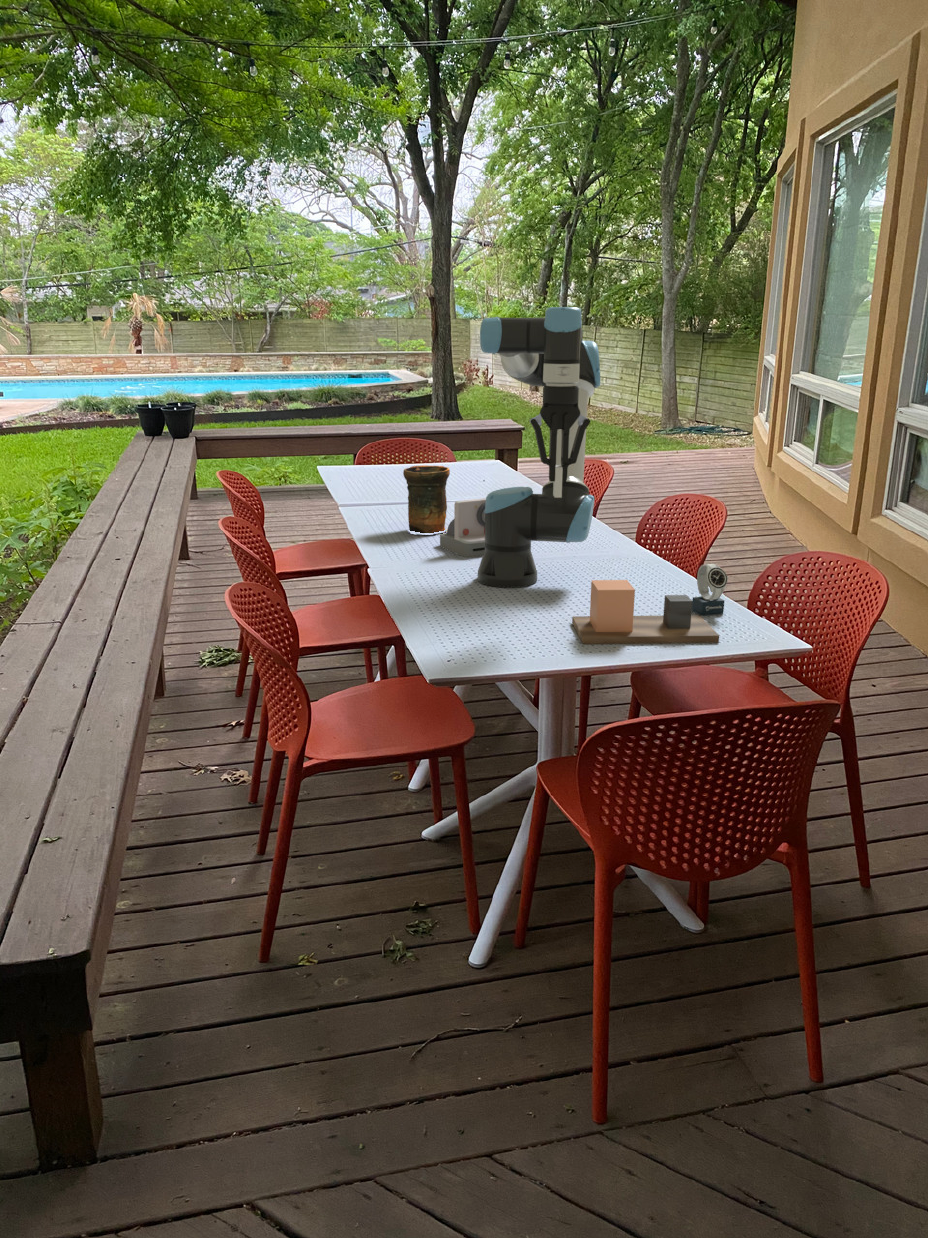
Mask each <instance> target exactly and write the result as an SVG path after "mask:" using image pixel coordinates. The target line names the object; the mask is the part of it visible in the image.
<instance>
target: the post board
mask: <svg viewBox="0 0 928 1238" xmlns="http://www.w3.org/2000/svg"><path fill="white" fill-rule="evenodd" d="M692 600H693V599H691V598H690V597H689V596H688V595H687V594H664V603H663V604H664V605H663V615H633V632H596V631H595V629H594V628H593V626H592V624H591V622H590V615H589V616H588V615H587V616H585V615H582V616H581V615H580V616H571V617H572V618H571V623H573V624H572V625H574V626H573V627H574V629H575V631H576V634H577V635H578V637H579V639H580V642H581V643H582V645H614V644H615V645H618V644H619V645H620V644H622V645H623V644H624V645H625V644H626V645H627V644H628V645H630V644H684V643H685V644H696V643H697V644H698V643H699V644H700V643H701V644H704V643H708V644H709V643H710V644H712V643H713V644H715V643H720V634H719V633H718V632H717V631H715V629H714V628H713V627H712V626H711V625H710V624H709V623H708V621H706V620H705V619H704V618H703V617H702V616H701V615H699V614H692V612H693V611H692Z"/></svg>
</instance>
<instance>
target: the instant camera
mask: <svg viewBox="0 0 928 1238" xmlns="http://www.w3.org/2000/svg"><path fill="white" fill-rule="evenodd" d="M485 504H486V497H483V498H476V499H475V498H474V499H464V500H463V499H462V500H457V501H455V502H454V506H453V507H454V514H453V515H454V518H453V519H452V520H451V521H450V522H449V524H448V527H447V529H446V530H447V531H446V532H447V533H443V534H439V546H442V547H444V548H446V549H445V550H447V549H448V550H447V551H449V550H450V551H449V552H452V553H455V554H456V553H457V554H456V555H459V556H461V557H463V556H464V558H476V557H477V558H478V557H483V554H484V551H485V513H484V511H485ZM442 547H441V548H442ZM444 548H443V549H444Z"/></svg>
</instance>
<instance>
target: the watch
mask: <svg viewBox="0 0 928 1238" xmlns="http://www.w3.org/2000/svg"><path fill="white" fill-rule="evenodd" d="M728 580H729V577H728V575H727V573H726V571H725V570H724V569H723V568H721V567H720V566H719V565H717V564H715V563H706V564H701V566H699V568H698V570H697V577H696V582H697V583H696V585H697V590H698V592H699V594H700V595H701V596H693V597H692V599H691V600H692V612H694V613H696V614H697V615H700V616H701V617H702V616H704V617H705V616H712V615H723V614H724V610H725V600H724V599H722V598H721V597H722V595H723V592H724V591H725V589H726V586H727V585H728V584H727V583H728ZM710 593H711V594H710Z"/></svg>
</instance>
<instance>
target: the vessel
mask: <svg viewBox="0 0 928 1238" xmlns="http://www.w3.org/2000/svg"><path fill="white" fill-rule="evenodd" d="M450 472H451V471H450V468H449V467H447V466H443V465H427V464H426V465H424V464H423V465H414V466H413V465H412V466H410V467H407V468H404V469H403V472H402V474H403V477H404V479H405V480H406V485H407V487H406V489H407V492H408V495H407V502H408V505H407V506H408V508H407V514H408V519H407V520H408V530H410V531H415V532H420V533H434V532H439V531H444V530H445V528H446V527H445V526H446V518H447V509H448V503H447V502H448V501H447V492H446V490H447V489H446V486H447V484H448V483H447V481H448V479H449V476H450Z"/></svg>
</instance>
